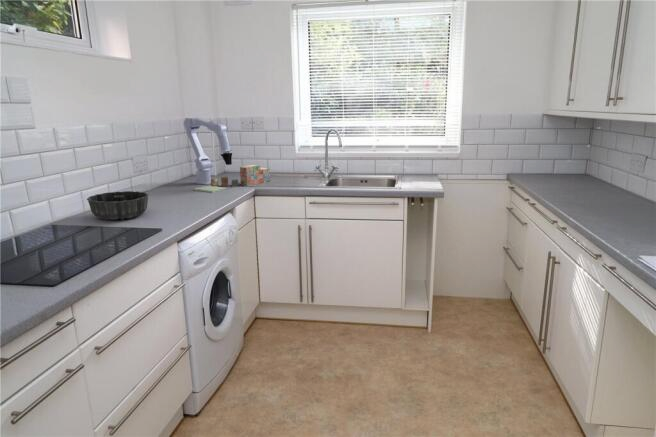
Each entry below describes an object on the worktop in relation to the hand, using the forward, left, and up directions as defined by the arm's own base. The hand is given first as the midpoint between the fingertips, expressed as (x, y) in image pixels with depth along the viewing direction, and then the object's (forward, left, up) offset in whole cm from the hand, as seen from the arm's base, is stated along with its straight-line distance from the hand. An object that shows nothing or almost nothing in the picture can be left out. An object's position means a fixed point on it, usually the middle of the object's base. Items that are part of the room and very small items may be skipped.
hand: (229, 164), depth 279 cm
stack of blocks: (+6, +19, -15) cm, 25 cm away
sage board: (-4, -14, -14) cm, 21 cm away
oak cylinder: (-9, -5, -14) cm, 18 cm away
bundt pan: (+6, -84, -15) cm, 86 cm away
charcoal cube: (0, +5, -14) cm, 15 cm away
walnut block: (-4, 0, -14) cm, 15 cm away
